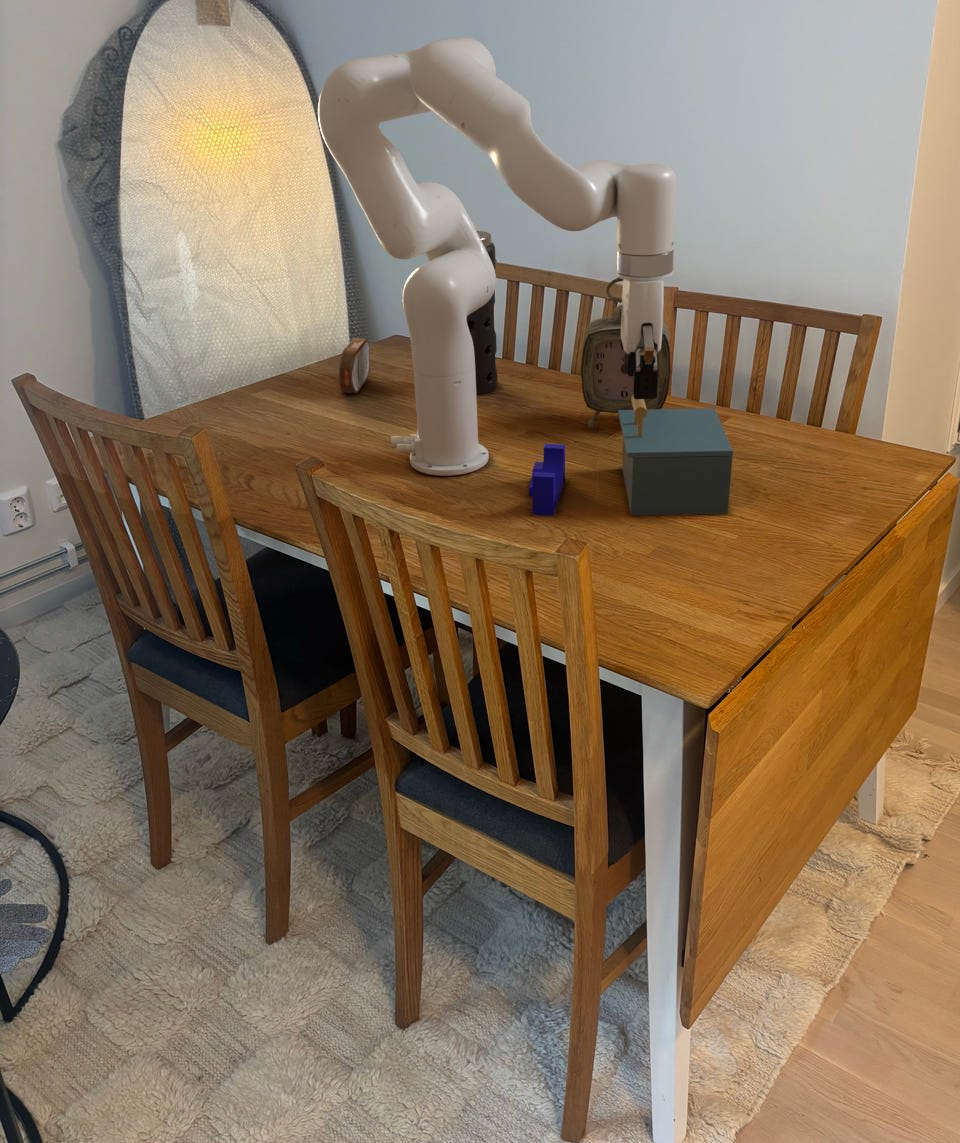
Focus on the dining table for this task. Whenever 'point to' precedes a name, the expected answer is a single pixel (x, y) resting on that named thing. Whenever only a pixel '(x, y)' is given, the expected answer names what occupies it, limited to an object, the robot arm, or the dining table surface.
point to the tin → (354, 365)
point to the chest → (677, 484)
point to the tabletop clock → (616, 366)
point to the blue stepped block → (548, 480)
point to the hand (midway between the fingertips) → (641, 386)
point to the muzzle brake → (484, 334)
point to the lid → (672, 432)
